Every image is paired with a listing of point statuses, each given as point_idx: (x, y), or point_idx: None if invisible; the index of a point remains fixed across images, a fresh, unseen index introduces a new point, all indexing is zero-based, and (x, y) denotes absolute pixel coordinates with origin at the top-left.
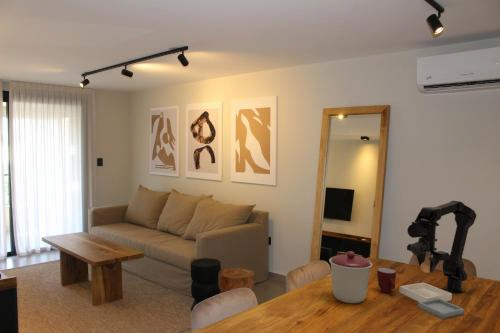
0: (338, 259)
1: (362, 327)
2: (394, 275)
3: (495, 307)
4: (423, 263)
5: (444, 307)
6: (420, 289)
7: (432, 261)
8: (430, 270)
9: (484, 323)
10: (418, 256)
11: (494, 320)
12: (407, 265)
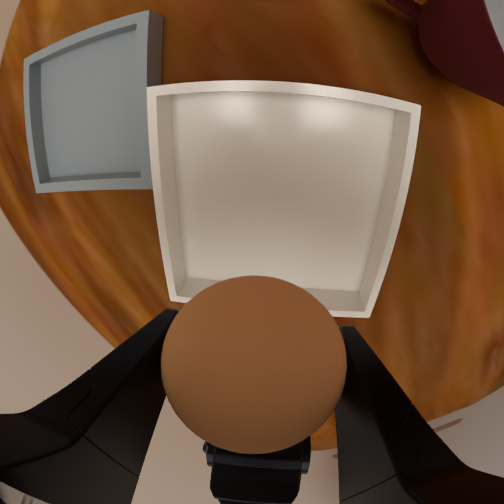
0: None
1: None
2: (467, 14)
3: (105, 339)
4: (259, 390)
5: (94, 144)
6: (355, 259)
7: (25, 419)
8: (161, 321)
9: (7, 190)
10: (417, 497)
11: (23, 242)
12: (477, 395)
